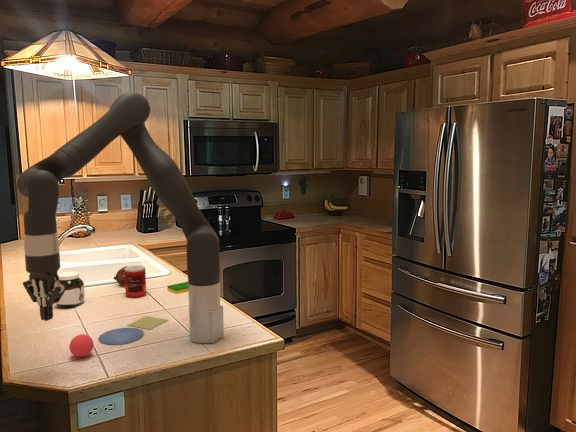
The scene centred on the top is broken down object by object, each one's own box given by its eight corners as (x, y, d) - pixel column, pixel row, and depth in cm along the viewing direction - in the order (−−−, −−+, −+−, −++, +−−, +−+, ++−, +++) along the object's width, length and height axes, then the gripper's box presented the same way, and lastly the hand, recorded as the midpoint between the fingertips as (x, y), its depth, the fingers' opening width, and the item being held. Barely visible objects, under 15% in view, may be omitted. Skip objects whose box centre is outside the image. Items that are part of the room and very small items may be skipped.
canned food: (138, 291, 186) (137, 264, 185) (150, 294, 181) (149, 267, 180) (121, 295, 181) (120, 268, 179) (133, 299, 176) (131, 271, 174)
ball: (98, 353, 129) (97, 332, 128) (81, 362, 123) (80, 340, 122) (82, 349, 131) (81, 329, 130) (65, 358, 125) (63, 337, 125)
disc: (153, 331, 144) (153, 331, 144) (123, 347, 132) (123, 347, 132) (120, 325, 149) (120, 325, 149) (88, 340, 137) (88, 340, 137)
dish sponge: (167, 291, 188) (166, 285, 187) (196, 285, 197) (196, 279, 197) (175, 295, 182) (175, 289, 182) (206, 288, 192) (205, 282, 191)
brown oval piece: (128, 292, 190) (122, 289, 200) (144, 278, 193) (137, 275, 203) (114, 277, 187) (108, 275, 197) (130, 263, 190) (124, 261, 201)
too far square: (167, 320, 154) (167, 319, 154) (149, 329, 146) (149, 329, 146) (146, 316, 157) (146, 316, 157) (127, 325, 149) (127, 325, 149)
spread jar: (70, 310, 164) (68, 278, 162) (42, 308, 166) (40, 276, 165) (91, 299, 176) (89, 269, 174) (65, 297, 178) (63, 268, 176)
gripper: (74, 251, 115) (78, 318, 117) (36, 246, 120) (41, 311, 122) (48, 257, 108) (53, 328, 110) (9, 252, 113) (14, 320, 115)
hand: (46, 319), depth 116 cm, fingers closed
